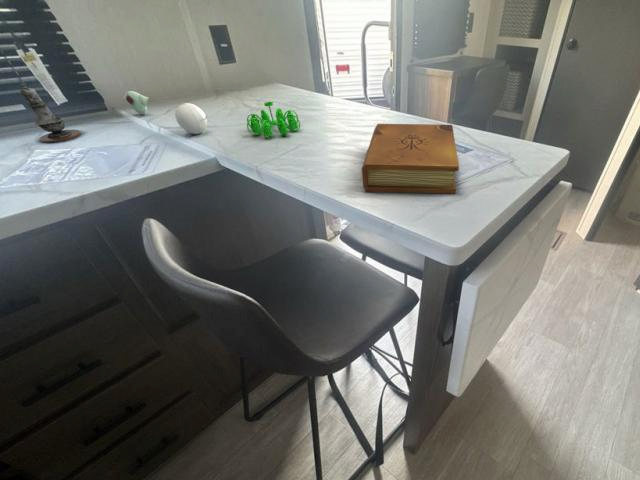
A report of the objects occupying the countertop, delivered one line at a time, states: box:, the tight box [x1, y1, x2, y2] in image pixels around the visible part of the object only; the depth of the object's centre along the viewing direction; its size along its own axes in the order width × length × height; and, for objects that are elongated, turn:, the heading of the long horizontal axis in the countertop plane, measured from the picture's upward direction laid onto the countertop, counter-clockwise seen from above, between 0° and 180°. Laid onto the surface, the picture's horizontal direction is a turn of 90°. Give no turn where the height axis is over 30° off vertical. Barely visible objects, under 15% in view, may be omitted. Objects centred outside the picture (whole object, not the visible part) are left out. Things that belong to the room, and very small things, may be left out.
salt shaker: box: [19, 83, 71, 138], centre depth 82 cm, size 6×6×12 cm
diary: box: [361, 123, 460, 195], centre depth 69 cm, size 23×19×6 cm
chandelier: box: [246, 101, 301, 139], centre depth 87 cm, size 15×15×7 cm
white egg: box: [174, 102, 208, 135], centre depth 87 cm, size 10×7×7 cm
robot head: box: [123, 90, 150, 116], centre depth 98 cm, size 8×4×7 cm, turn 80°
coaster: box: [39, 128, 82, 144], centre depth 87 cm, size 9×9×1 cm
